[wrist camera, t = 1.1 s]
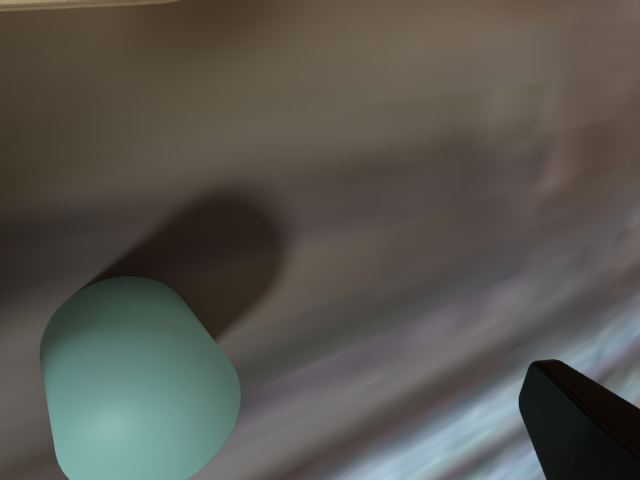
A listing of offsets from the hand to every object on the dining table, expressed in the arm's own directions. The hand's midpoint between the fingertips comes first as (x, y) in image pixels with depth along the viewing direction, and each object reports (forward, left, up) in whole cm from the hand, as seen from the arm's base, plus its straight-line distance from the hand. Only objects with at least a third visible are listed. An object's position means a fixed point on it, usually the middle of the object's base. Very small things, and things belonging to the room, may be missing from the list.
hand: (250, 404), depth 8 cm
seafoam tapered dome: (-5, -2, -13) cm, 14 cm away
